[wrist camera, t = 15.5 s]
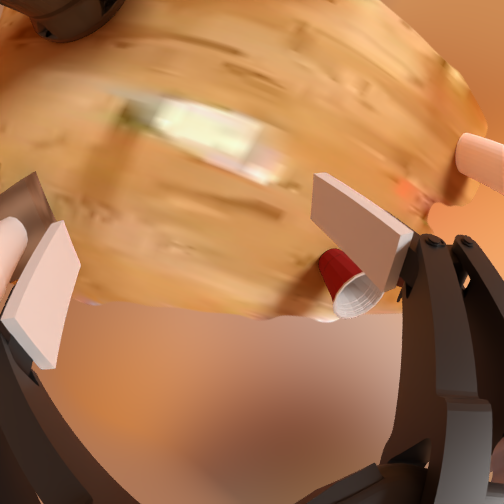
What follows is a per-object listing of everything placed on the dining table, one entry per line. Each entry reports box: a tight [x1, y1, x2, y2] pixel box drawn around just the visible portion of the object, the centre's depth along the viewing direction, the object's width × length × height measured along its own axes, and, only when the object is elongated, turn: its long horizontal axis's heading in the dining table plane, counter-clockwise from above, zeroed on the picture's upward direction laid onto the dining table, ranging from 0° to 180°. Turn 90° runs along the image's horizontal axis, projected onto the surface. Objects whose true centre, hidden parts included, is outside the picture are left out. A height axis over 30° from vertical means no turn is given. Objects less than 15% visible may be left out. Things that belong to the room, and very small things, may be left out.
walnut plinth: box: [0, 171, 56, 283], centre depth 31 cm, size 14×14×4 cm
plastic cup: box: [318, 249, 384, 319], centre depth 48 cm, size 11×11×12 cm
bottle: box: [455, 133, 504, 195], centre depth 38 cm, size 12×12×25 cm
